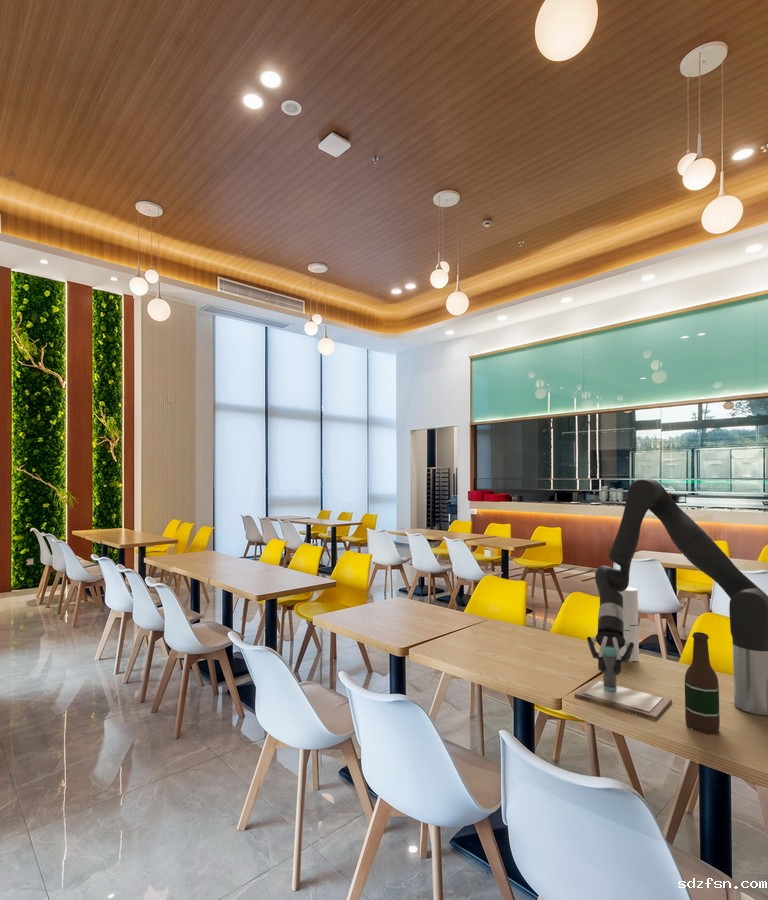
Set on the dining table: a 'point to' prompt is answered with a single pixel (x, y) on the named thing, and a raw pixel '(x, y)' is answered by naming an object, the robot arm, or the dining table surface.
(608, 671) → the teal-capped glass tube
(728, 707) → the dining table surface
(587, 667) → the dining table surface
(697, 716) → the beer bottle
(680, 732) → the dining table surface
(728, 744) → the dining table surface
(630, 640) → the cylindrical container
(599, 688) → the writing board
